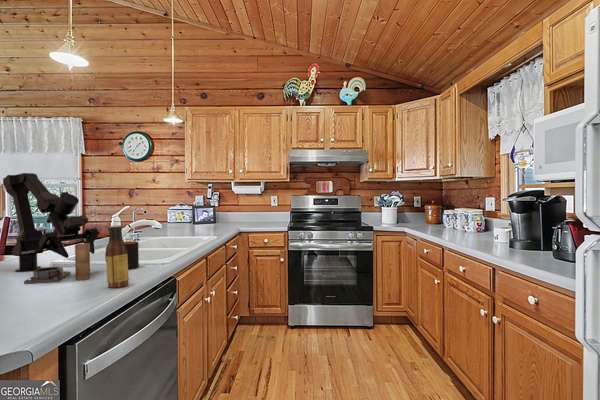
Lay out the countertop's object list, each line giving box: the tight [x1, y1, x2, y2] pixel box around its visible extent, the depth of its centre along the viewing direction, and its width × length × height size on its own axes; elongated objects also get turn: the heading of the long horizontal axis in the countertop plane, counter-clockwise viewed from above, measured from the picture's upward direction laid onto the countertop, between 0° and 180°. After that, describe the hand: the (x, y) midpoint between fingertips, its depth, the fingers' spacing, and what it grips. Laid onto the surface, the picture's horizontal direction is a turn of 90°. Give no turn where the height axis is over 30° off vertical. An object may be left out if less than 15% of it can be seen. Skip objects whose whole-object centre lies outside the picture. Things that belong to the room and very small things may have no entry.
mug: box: [104, 240, 140, 271], centre depth 141 cm, size 8×12×10 cm
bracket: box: [23, 266, 71, 285], centre depth 124 cm, size 12×10×4 cm
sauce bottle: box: [105, 225, 130, 289], centre depth 114 cm, size 7×6×20 cm
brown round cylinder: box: [74, 242, 91, 282], centre depth 123 cm, size 4×4×12 cm
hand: (81, 255), depth 124 cm, fingers open, 9 cm apart
